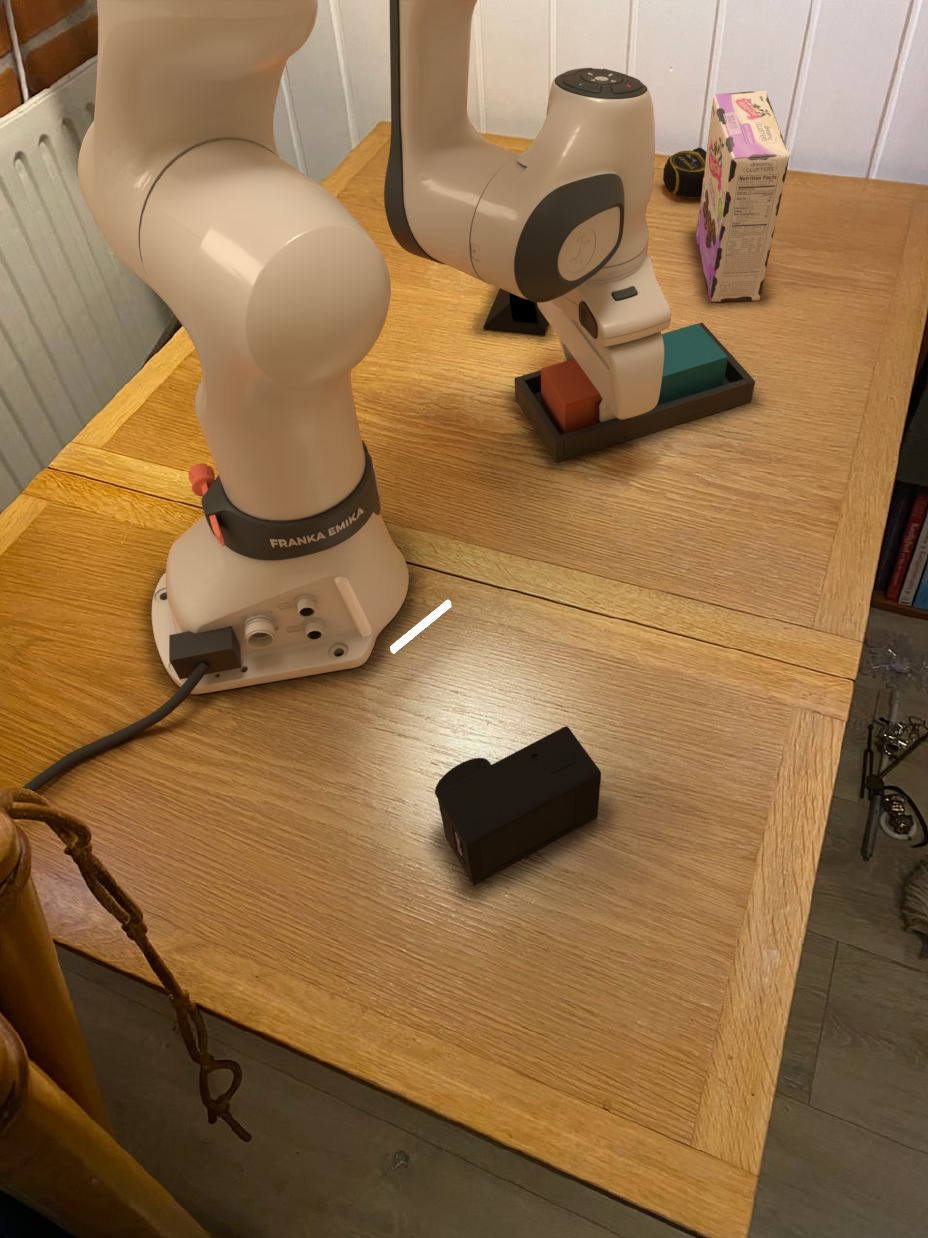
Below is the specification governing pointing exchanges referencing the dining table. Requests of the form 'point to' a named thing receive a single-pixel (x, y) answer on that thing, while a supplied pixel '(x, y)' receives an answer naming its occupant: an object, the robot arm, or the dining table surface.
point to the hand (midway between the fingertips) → (590, 395)
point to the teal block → (690, 363)
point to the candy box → (740, 195)
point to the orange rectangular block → (569, 396)
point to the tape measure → (685, 173)
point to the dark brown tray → (617, 430)
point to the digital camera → (517, 802)
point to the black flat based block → (515, 316)
